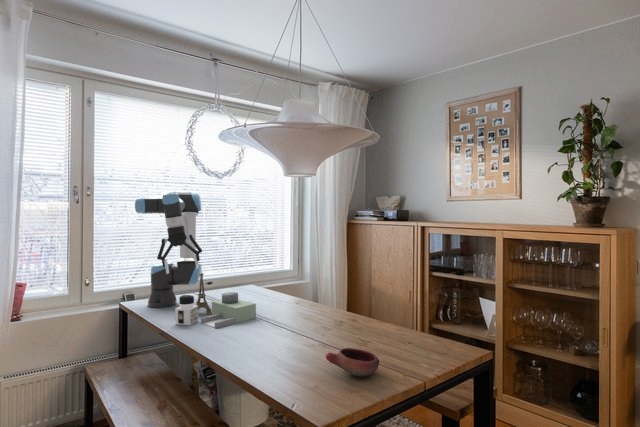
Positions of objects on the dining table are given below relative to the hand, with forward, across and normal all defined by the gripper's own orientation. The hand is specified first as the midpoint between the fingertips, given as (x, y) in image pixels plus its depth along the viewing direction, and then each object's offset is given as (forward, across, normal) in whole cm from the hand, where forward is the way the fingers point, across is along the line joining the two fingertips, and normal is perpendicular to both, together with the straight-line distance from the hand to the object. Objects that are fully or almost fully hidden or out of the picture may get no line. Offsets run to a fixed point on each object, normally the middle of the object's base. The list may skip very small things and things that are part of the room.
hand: (182, 270), depth 194 cm
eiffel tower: (+26, +3, +16) cm, 31 cm away
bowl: (+32, +60, -74) cm, 101 cm away
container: (+25, -2, 0) cm, 25 cm away
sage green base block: (+27, +15, +3) cm, 31 cm away
